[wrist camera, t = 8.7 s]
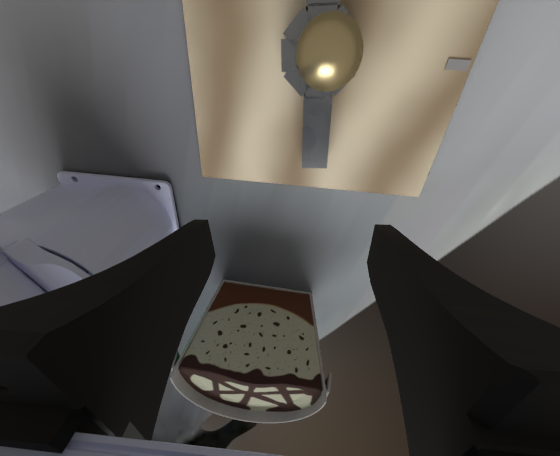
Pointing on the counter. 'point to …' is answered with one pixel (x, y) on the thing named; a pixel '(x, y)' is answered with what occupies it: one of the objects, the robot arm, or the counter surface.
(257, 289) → the food container
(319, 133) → the t key
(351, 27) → the plate
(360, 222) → the counter surface
